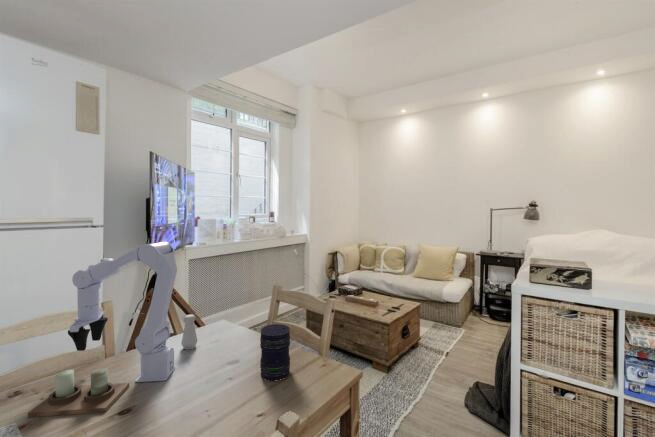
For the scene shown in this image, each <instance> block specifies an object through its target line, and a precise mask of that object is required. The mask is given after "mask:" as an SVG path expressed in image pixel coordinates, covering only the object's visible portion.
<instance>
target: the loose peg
mask: <svg viewBox="0 0 655 437" xmlns="http://www.w3.org/2000/svg"><path fill="white" fill-rule="evenodd" d="M54 377H55V391H56V399H57V398H64V397H67V396H70V395H72V394H74V385H75V370H74V369H65V370H62V371H60V372H57V373H56V374H55V376H54Z"/></svg>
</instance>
